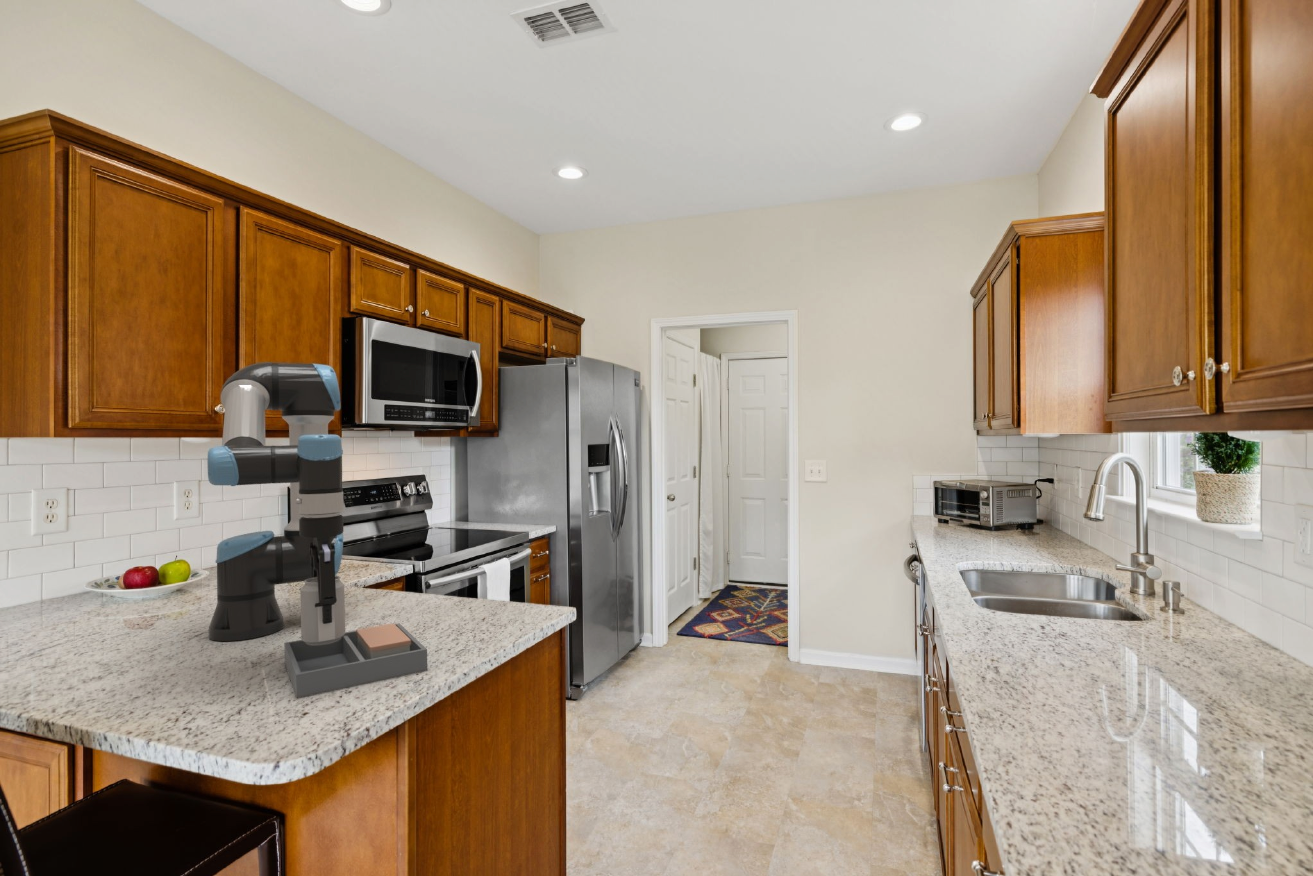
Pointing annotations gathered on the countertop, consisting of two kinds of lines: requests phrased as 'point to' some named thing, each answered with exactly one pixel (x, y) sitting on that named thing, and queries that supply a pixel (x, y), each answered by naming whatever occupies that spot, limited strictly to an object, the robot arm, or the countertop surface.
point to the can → (311, 612)
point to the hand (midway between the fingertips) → (323, 634)
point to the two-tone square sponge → (382, 641)
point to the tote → (346, 664)
